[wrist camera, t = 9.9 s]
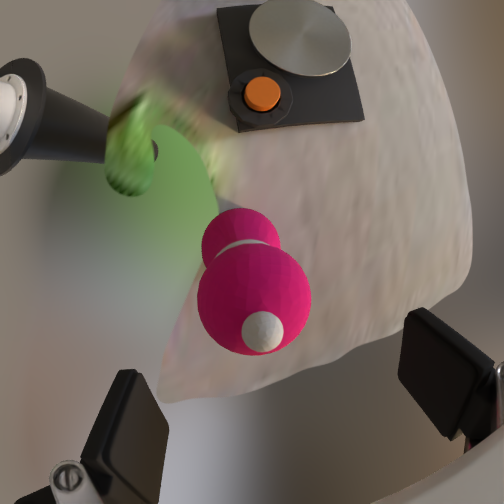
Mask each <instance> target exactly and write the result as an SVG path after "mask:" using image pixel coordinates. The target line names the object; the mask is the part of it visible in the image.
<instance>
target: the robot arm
mask: <svg viewBox="0 0 504 504" xmlns="http://www.w3.org/2000/svg"><path fill="white" fill-rule="evenodd" d="M26 104H27V88H26V84H25V82H24V80H23V79H22V78H21V77H20V76H17V75H15V74H8V75H5V76H3V77H1V78H0V154H1V153H3V152H4V151H5V150H6V149H7V148H8V147H9V145H10V144H11V143H12V141H13V139H14V138H15V136H16V134H17V132H18V130H19V128H20V126H21V123H22V120H23V117H24V114H25V110H26ZM494 363H495V362H494V361H493V360H492V359H491V358H489V357H488V356H487V355H486V354H484V353H483V352H482V351H481V350H479V349H478V348H477V347H476V346H474V345H473V344H472V343H470V342H469V341H468V340H467V339H465V338H464V337H463V336H462V335H460V334H459V333H458V332H456V331H455V330H454V329H452V328H451V327H450V326H448V325H447V324H446V323H444V322H443V321H442V320H440V319H439V318H437V317H436V316H435V315H434V314H432V313H431V312H429V311H428V310H427V309H425V308H423V307H421V308H418V309H415V310H413V311H410V312H409V313H408V315H407V317H406V318H405V320H404V329H403V338H402V347H401V354H400V361H399V368H398V378H399V380H400V381H401V383H402V384H403V386H404V387H405V388H406V389H407V390H408V392H409V393H410V394H411V396H412V397H413V398H414V400H415V401H416V402H417V403H418V405H419V406H420V407H421V408H422V410H423V411H424V412H425V414H426V415H427V416H428V417H429V419H430V420H431V421H432V423H433V424H434V425H435V426H436V428H437V429H438V431H439V432H440V433H441V435H442V436H444V437H448V439H449V440H450V441H452V440H454V439H456V438H457V437H458V436H460V435H462V433H463V434H464V435H465V436H466V439H465V447H464V454H463V455H462V456H460V457H459V458H457V459H456V460H454V461H453V462H451V463H450V464H448V465H446V466H445V467H443V468H442V469H440V470H438V471H436V472H435V473H433V474H431V475H429V476H428V477H426V478H424V479H422V480H420V481H419V482H416V483H415V484H413V485H411V486H409V487H407V488H405V489H402V490H400V491H398V492H396V493H394V494H391V495H389V496H387V497H385V498H382V499H380V500H377V501H375V502H373V503H370V504H504V362H501V363H500V364H499V365H498V366H497V368H496V370H495V369H494V368H493V366H494ZM168 435H169V425H168V422H167V420H166V419H165V417H164V415H163V413H162V412H161V410H160V408H159V406H158V404H157V402H156V400H155V398H154V397H153V395H152V393H151V391H150V389H149V387H148V385H147V383H146V381H145V379H144V377H143V375H142V374H141V373H138V372H137V371H136V370H135V369H126V370H119V371H118V373H117V375H116V377H115V379H114V381H113V383H112V385H111V388H110V390H109V392H108V394H107V396H106V398H105V401H104V403H103V405H102V407H101V409H100V411H99V414H98V416H97V418H96V421H95V423H94V425H93V428H92V430H91V432H90V434H89V437H88V439H87V442H86V444H85V446H84V449H83V451H82V454H81V456H80V457H81V461H80V463H79V462H77V461H74V460H66V461H62V462H60V463H58V464H57V465H56V466H55V467H54V468H53V469H52V471H51V473H50V477H49V482H50V485H49V486H47V487H44V488H42V489H40V490H38V491H36V492H33V493H31V494H29V495H27V496H24V497H22V498H20V499H18V500H17V501H16V502H15V503H14V504H158V502H159V494H160V487H161V480H162V473H163V466H164V460H165V453H166V447H167V440H168Z"/></svg>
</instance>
